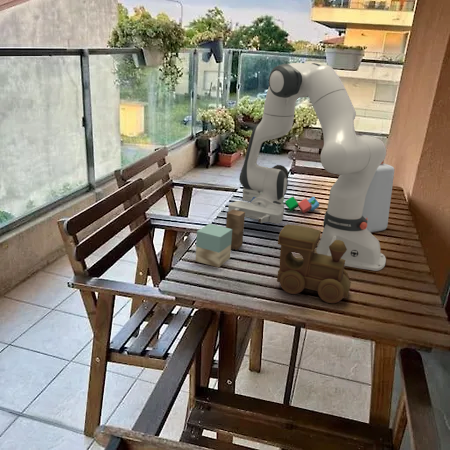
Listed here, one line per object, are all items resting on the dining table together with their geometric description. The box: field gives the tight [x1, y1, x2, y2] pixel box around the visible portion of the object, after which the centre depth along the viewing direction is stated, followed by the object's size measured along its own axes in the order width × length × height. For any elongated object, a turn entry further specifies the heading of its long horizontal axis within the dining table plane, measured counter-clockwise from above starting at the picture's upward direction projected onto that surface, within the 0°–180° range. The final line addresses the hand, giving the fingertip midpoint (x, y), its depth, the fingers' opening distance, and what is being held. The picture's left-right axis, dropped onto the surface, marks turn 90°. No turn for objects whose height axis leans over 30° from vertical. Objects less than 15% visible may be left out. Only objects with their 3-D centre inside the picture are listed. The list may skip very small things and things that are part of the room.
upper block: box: [195, 223, 232, 253], centre depth 136 cm, size 8×8×5 cm
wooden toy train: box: [276, 223, 352, 304], centre depth 121 cm, size 20×11×17 cm, turn 68°
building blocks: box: [284, 196, 321, 214], centre depth 189 cm, size 8×8×12 cm
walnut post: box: [225, 210, 246, 251], centre depth 147 cm, size 4×4×12 cm
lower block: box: [195, 245, 232, 268], centre depth 138 cm, size 8×8×5 cm
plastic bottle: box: [362, 160, 395, 233], centre depth 172 cm, size 15×15×28 cm
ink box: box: [242, 186, 263, 203], centre depth 197 cm, size 9×5×12 cm, turn 58°
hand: (247, 217), depth 156 cm, fingers open, 8 cm apart
